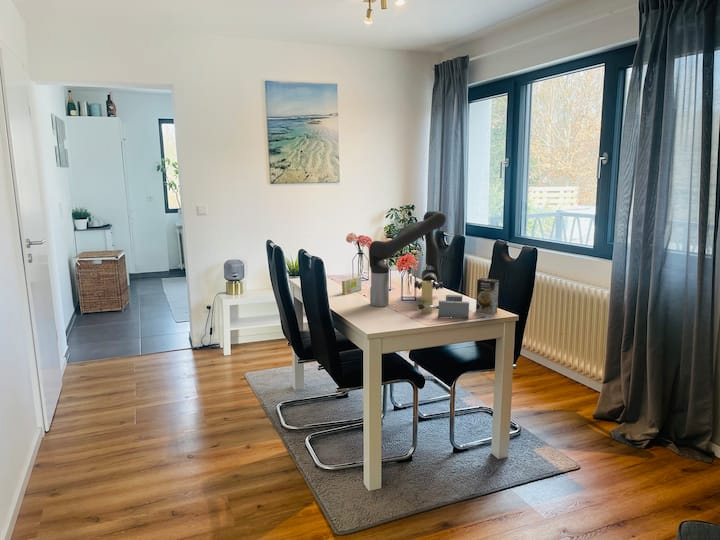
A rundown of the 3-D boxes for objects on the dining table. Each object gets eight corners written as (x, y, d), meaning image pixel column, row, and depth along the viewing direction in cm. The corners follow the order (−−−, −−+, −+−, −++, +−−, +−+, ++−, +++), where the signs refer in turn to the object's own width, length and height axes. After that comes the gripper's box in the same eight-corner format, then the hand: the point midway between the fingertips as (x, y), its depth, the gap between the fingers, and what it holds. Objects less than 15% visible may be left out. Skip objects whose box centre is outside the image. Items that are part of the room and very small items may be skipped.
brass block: (421, 313, 263) (421, 282, 261) (422, 310, 268) (422, 280, 265) (431, 313, 262) (432, 283, 260) (432, 310, 267) (432, 281, 265)
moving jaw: (445, 311, 266) (445, 296, 264) (445, 309, 270) (446, 294, 268) (461, 312, 264) (462, 297, 263) (461, 310, 268) (462, 295, 267)
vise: (417, 316, 256) (417, 301, 255) (419, 309, 271) (419, 294, 269) (468, 318, 252) (469, 303, 251) (468, 311, 266) (468, 296, 265)
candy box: (358, 290, 317) (358, 276, 316) (361, 290, 316) (361, 276, 315) (341, 295, 304) (341, 280, 303) (344, 295, 303) (344, 281, 302)
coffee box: (475, 311, 266) (476, 279, 263) (480, 309, 271) (481, 277, 268) (493, 314, 261) (494, 281, 258) (497, 311, 266) (499, 279, 263)
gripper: (416, 274, 285) (413, 279, 270) (443, 274, 283) (442, 280, 267) (416, 288, 287) (413, 294, 271) (443, 288, 284) (442, 295, 268)
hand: (428, 287), depth 269 cm, fingers open, 8 cm apart
